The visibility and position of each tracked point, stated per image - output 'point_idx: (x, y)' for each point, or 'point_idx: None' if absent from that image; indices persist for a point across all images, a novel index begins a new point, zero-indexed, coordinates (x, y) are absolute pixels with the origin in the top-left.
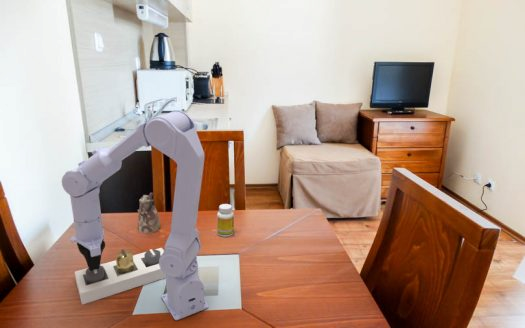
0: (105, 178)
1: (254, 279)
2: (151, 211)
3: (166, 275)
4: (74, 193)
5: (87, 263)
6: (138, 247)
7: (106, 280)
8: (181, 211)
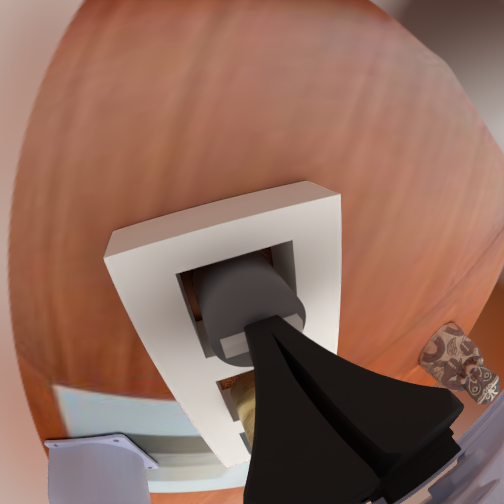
0: None
1: (164, 498)
2: (458, 388)
3: None
4: None
5: (255, 369)
6: (390, 346)
7: (193, 353)
8: None
